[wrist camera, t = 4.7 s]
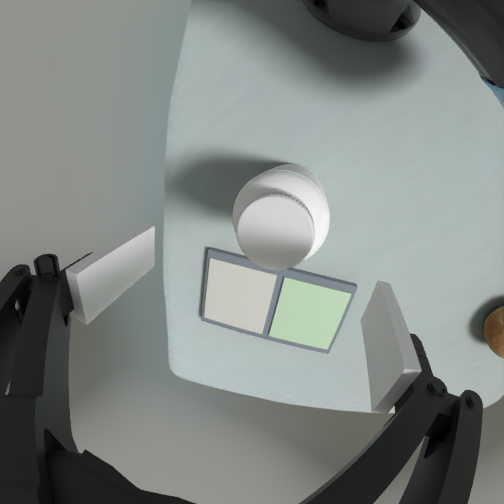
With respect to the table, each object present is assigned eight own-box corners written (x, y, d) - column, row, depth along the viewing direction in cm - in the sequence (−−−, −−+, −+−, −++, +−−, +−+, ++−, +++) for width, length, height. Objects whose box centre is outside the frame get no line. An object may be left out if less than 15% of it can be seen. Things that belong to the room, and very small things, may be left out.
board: (210, 247, 36) (207, 250, 35) (356, 284, 34) (357, 288, 33) (203, 317, 41) (200, 321, 40) (328, 350, 39) (328, 355, 38)
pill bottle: (334, 175, 29) (351, 199, 16) (311, 237, 33) (307, 303, 19) (268, 153, 30) (231, 159, 17) (250, 216, 34) (205, 267, 20)
